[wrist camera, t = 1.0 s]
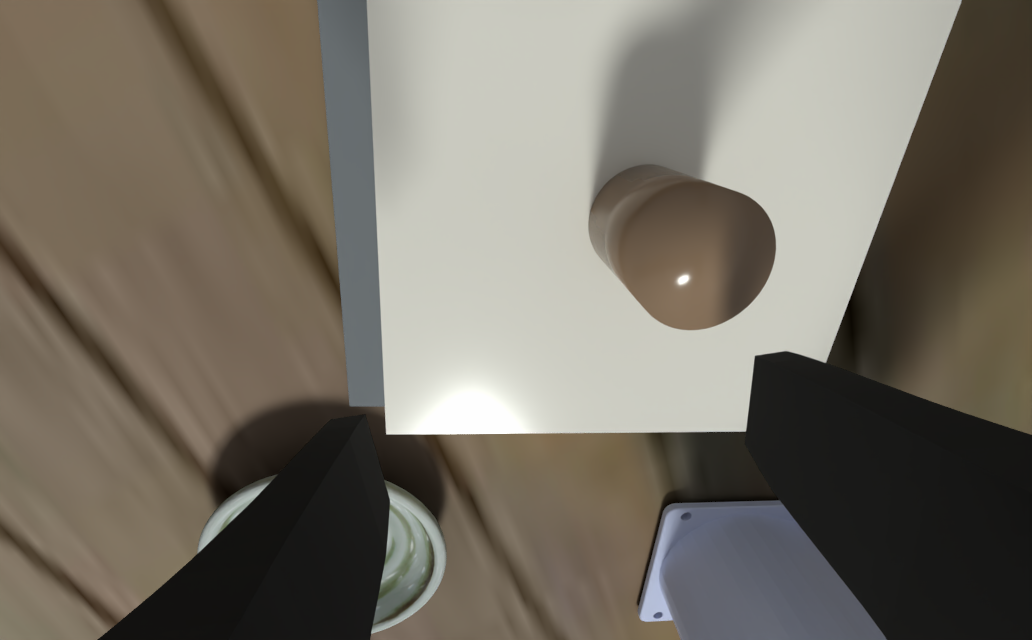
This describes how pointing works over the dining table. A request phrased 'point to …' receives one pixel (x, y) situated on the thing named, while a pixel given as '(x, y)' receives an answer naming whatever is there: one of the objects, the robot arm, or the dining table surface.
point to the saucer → (408, 557)
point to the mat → (353, 191)
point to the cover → (627, 199)
